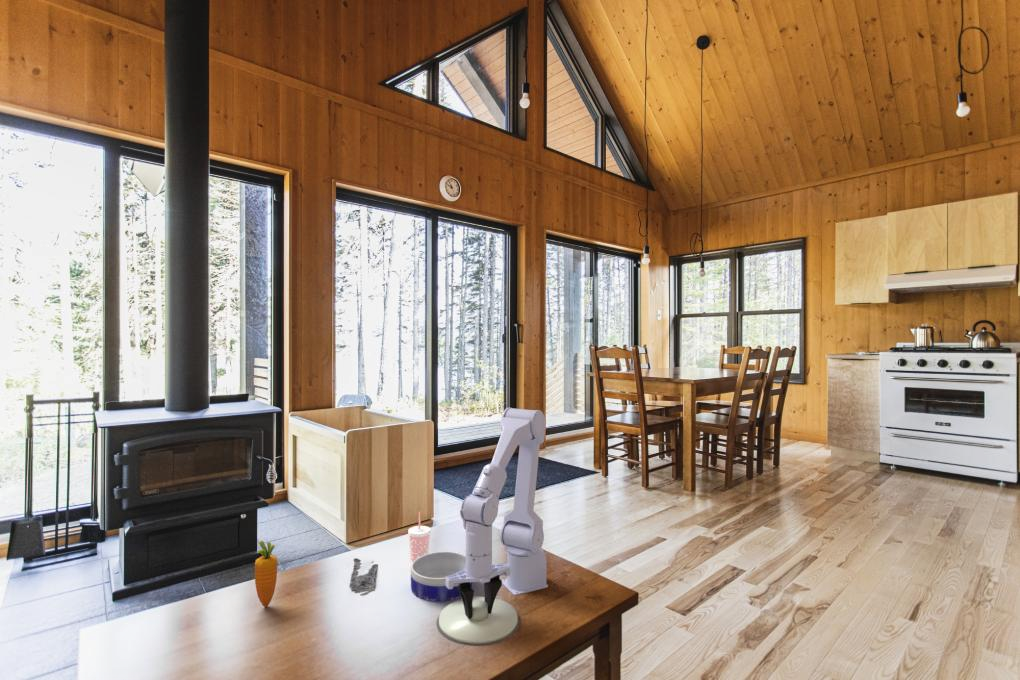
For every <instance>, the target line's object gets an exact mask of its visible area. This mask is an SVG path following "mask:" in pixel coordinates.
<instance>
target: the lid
mask: <svg viewBox="0 0 1020 680" xmlns="http://www.w3.org/2000/svg"><path fill="white" fill-rule="evenodd" d="M484 600H485V596H473V601H472V618H471V619H468V617H467V616H466V615H465V609H464V604H463V601H462V598H461V599H460V598H459V599H457V600H456V601H455V600H454V602H451V603H449V604H448V605H446V606H445V607H444V608H443V609H442V610H441V612H440V614H439V615H440V616H439V615H438V616H439V627H440V629H441V631H442V632H443V633H444V634H445V635H446V636H447V637H449V638H451V639H453V640H455V641H458V642H462V643H468V644H485V643H491V642H495V641H498V640H501V639H503V638H505V637H506V636H508V635H509V634H511V633H512V632H513V631H514V629H515V628H516V626H517V622H518V617H517V614H518V612H517V610H516V609H515V607H513V606H512V605H511V604H510V603H508V602H507V601H505V600H502V599H498V598H495V601H494V604H493V608H492V612H491V613H490V614H488V604H487V603H486V602H485V601H484Z"/></svg>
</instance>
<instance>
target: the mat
mask: <svg viewBox="0 0 1020 680" xmlns="http://www.w3.org/2000/svg"><path fill="white" fill-rule="evenodd" d="M439 616H440V614H439V615H438V616H437V619H436V628H437V629H436V630H438V632H439V634H441V636H443V638H446V639H447V640H448V641H450V642H452V643H455V644H459V645H463V646H471V647H472V646H473V647H480V646H488V645H489V646H490V645H494V644H498V643H500V642H503V641H505V640H507V639H509V638H511V637H512V636H513V635H514V634H515V633H516V632H517V631H518V629H519V627H520V623H521V621H520V620H521V619H520V616H519V614H518V613H517V617H518V622H517V626H516V628H515V629H514V631H513V632H512V633H511V634H509V635H508V636H506V637H505V638H503V639H501V640H498V641H495V642H491V643H485V644H468V643H462V642H458V641H455V640H453V639H451V638H449V637H447V636H446V635H445V634H444V633H443V632H442V631H441V629H440V627H439Z"/></svg>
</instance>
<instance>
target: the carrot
mask: <svg viewBox="0 0 1020 680" xmlns="http://www.w3.org/2000/svg"><path fill="white" fill-rule="evenodd" d="M258 544H259V545H260V547H261V549H258V550H257V552H258V553H259V554H261V556H259V558H256V559H255V563H254V580H255V581H254V583H255V590H256V593H257V598H258V599H259V602H260V604H262V606H263V607H264V608H267V607H268V606H269V605H270V604H271V601H272V599H273V596H274V594H275V589H276V586H277V579H278V557H277V556H276V555H272V552H273V550H274V549H275V547H276V544H272V543H271V541H268V542H267V543H266V544H265V542H264V540H260V541H259V542H258ZM266 545H267V546H266Z"/></svg>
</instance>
